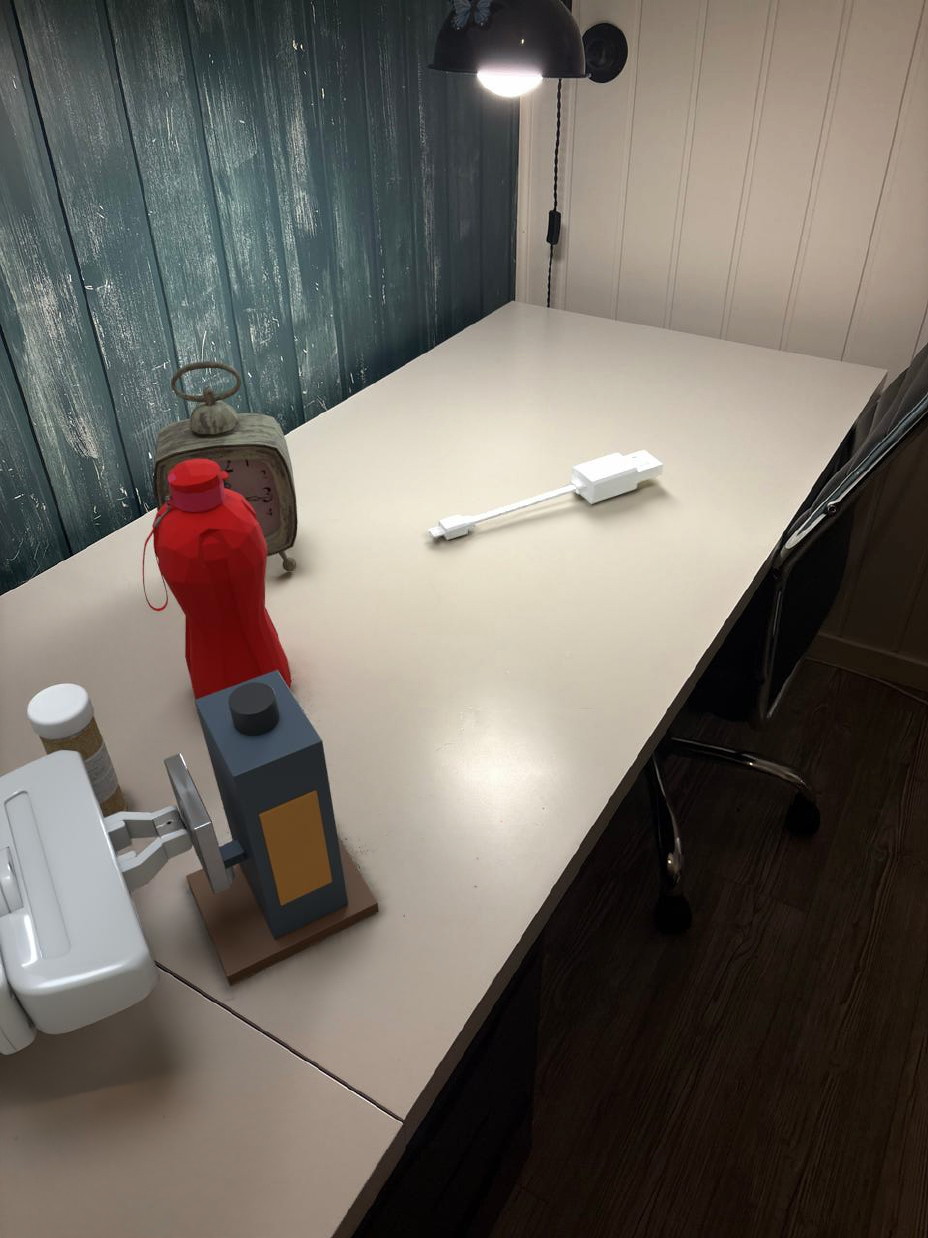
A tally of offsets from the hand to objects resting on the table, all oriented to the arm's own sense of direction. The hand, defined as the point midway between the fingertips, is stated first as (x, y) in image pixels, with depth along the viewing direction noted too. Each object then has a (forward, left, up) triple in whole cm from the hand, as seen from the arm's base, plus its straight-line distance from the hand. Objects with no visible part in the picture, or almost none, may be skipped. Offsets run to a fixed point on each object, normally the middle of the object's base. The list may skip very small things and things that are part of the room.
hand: (185, 825), depth 63 cm
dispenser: (+4, -1, -12) cm, 13 cm away
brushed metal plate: (+1, 0, -3) cm, 4 cm away
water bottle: (+14, +22, -12) cm, 29 cm away
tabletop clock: (+26, +41, -12) cm, 50 cm away
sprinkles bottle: (-2, +16, -12) cm, 20 cm away
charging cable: (+62, +26, -12) cm, 68 cm away
